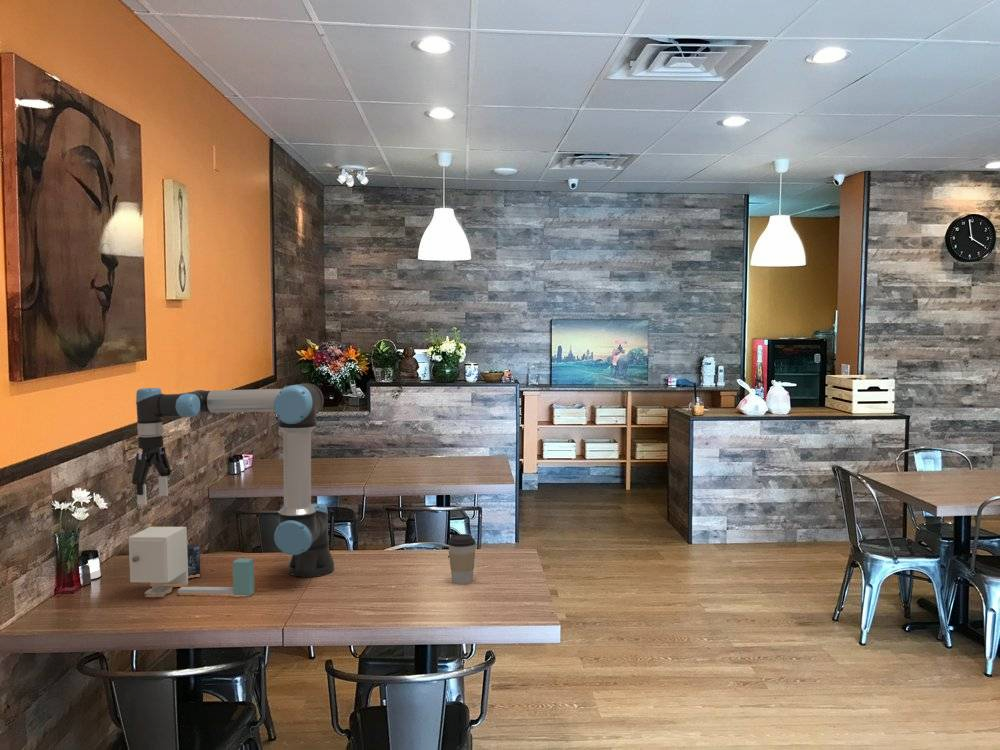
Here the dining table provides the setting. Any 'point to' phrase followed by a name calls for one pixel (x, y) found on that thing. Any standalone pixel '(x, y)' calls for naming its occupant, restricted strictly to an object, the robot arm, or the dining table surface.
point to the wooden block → (158, 590)
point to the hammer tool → (241, 581)
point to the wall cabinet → (159, 555)
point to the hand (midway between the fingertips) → (153, 500)
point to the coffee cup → (462, 558)
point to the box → (193, 559)
